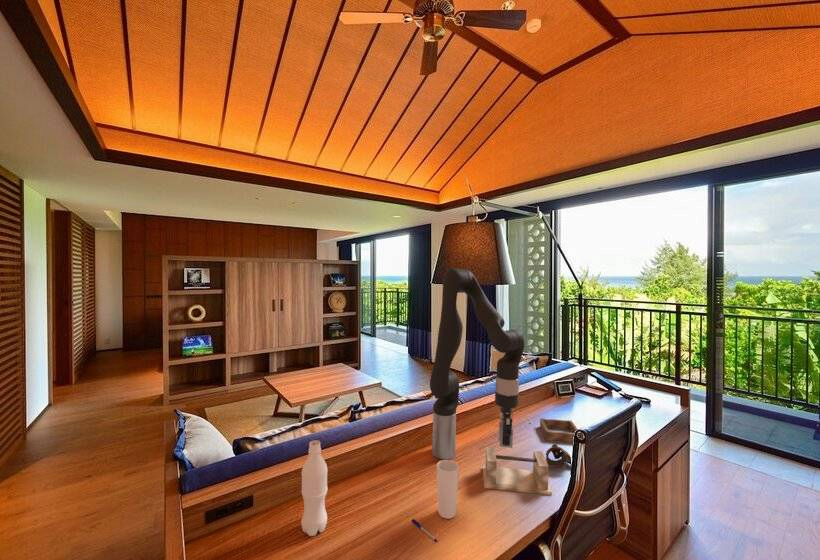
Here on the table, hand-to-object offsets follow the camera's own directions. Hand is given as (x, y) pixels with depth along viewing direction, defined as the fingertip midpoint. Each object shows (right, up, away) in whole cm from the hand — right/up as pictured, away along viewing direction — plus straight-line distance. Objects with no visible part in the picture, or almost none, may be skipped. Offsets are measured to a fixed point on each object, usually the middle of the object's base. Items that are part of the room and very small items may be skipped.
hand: (505, 440), depth 117 cm
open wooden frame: (+36, -17, +43) cm, 59 cm away
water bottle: (-59, -18, -17) cm, 64 cm away
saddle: (0, -1, 0) cm, 1 cm away
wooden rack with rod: (+6, -18, +8) cm, 20 cm away
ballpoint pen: (-28, -18, -17) cm, 37 cm away
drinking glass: (-20, -18, -10) cm, 29 cm away
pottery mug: (+25, -18, +18) cm, 36 cm away
